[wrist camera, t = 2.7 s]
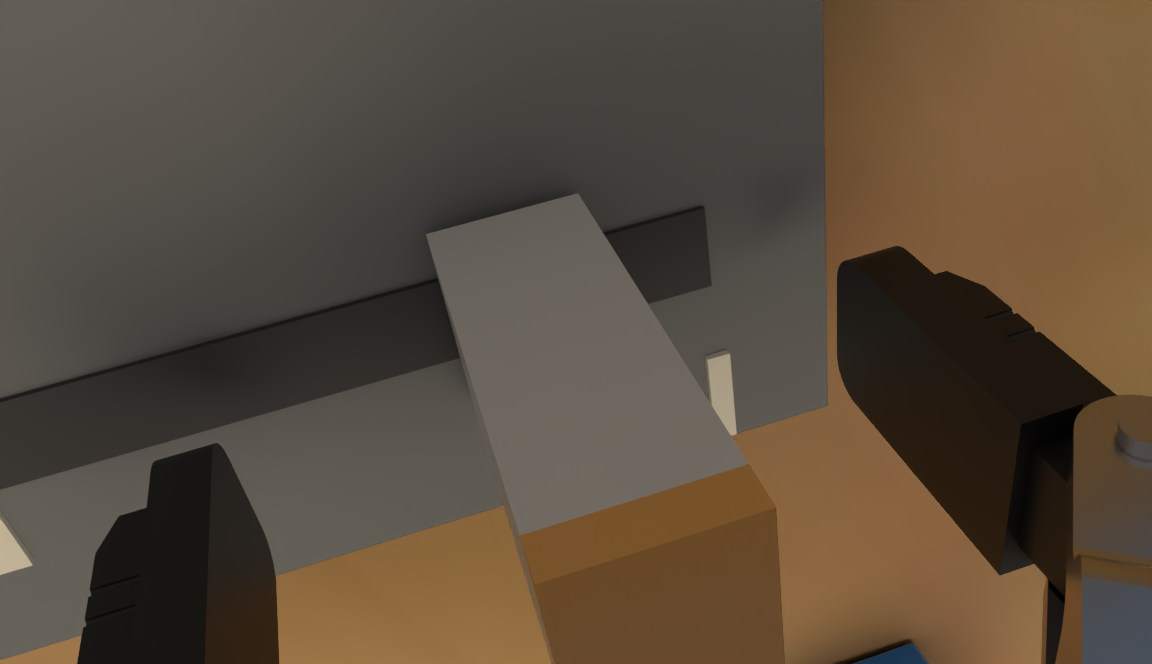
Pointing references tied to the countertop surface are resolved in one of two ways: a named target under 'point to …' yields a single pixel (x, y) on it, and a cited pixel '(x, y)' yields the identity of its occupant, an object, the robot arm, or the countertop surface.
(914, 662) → the ink box
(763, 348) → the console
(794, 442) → the countertop surface
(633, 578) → the fader
